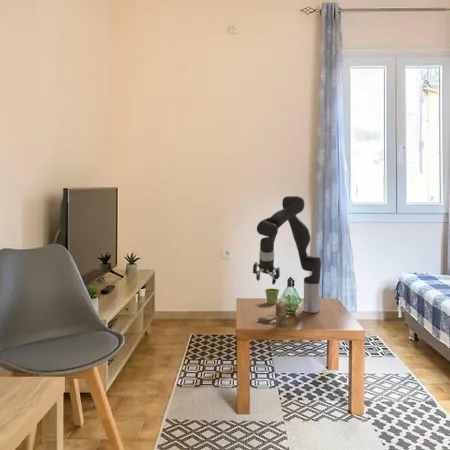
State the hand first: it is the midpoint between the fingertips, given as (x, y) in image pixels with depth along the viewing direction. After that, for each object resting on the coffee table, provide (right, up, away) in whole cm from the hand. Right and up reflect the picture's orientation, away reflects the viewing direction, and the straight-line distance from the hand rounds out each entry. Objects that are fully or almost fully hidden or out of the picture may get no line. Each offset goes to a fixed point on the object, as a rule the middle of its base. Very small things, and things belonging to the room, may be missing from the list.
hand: (265, 281), depth 253 cm
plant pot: (+8, -20, +50) cm, 55 cm away
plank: (+8, -23, -2) cm, 24 cm away
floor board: (+5, -22, +11) cm, 25 cm away
